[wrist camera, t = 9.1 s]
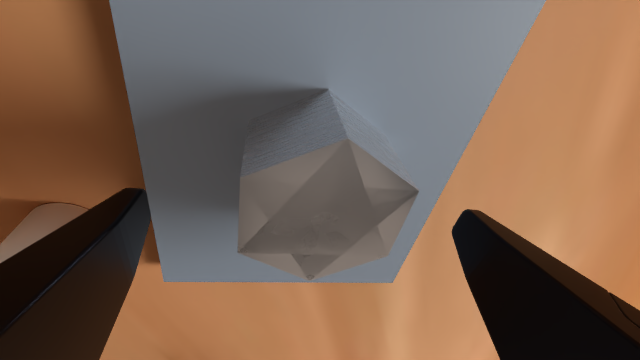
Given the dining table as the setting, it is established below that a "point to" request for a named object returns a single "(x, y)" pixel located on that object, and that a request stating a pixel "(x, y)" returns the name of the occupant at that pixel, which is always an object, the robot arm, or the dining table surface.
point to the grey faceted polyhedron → (320, 189)
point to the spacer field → (38, 226)
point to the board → (295, 84)
